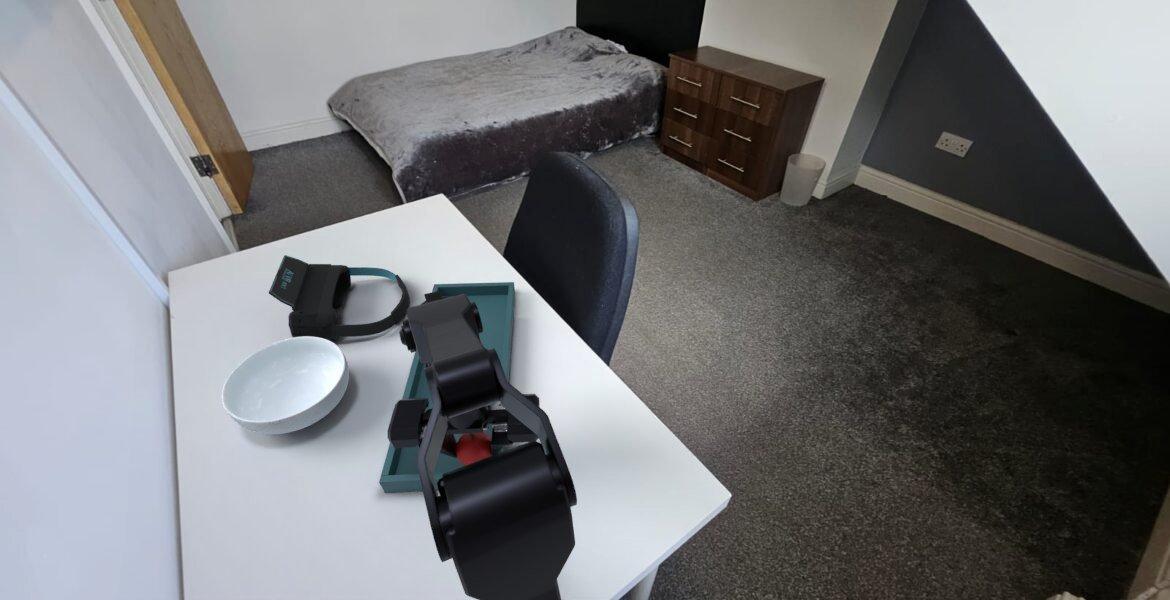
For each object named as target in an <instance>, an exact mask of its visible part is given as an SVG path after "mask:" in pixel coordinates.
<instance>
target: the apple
mask: <svg viewBox="0 0 1170 600" xmlns="http://www.w3.org/2000/svg"><path fill="white" fill-rule="evenodd" d="M456 454H457V457H458V459H459V461H460V462H461V463H462V464H464V465H469V464H471V463H474V462H477V461H479V460H482V459H485V458H487V457H490V456H491V438H490V437H489V436H488V434H486V433H485V432H483V433H469V434H463V435H462V436H461V437H460V438H459V440H458V442H457V445H456Z"/></svg>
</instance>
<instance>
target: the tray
mask: <svg viewBox="0 0 1170 600" xmlns="http://www.w3.org/2000/svg"><path fill="white" fill-rule="evenodd" d="M436 291H440V294H441V297H446V298H449V297H453V296H457V295H461V294H465V295H466V296H467V298H468V299H469V301H470V303H471V302H475V303H476V305H477V308H478V311H479V314H480V318H481V322H482V326H483V333H479V336H480V340H481V343H482V344H483V346H484V347H485V348H486V349H487V350H488V349H491V348H495V350H496V352H497V354H498V357H499V359H500V362H501V365H502V368H503V371H504V373H505V376H506V379H507V381H508V383H509V384H510V372H511V371H510V369H511V358H512V357H511V355H512V345H513V343H512V342H513V329H514V316H515V315H514V314H515V301H516V300H515V299H516V288H515V282H514V281H505V282H502V281H501V282H466V283H465V282H464V283H462V282H461V283H434V284H433V288H432V291H431V293H432V292H436ZM424 368H426V363H421V362H420V358H419V355H418V352H417V351H416V352H414V355H413V359H412V362H411V366H410V369H409V374H408V377H407V381H406V384H405V388H404V390H403V395H402V398H401V399H417V398H428V401H429V406H428V407H427V408H426V409H425V412H426V411H427V410H428V409H433V403H432V399H431V395H430V391H429V387H428V384H427V380H426V376H425V371H424ZM499 401H500V400H499ZM494 404H495V403H493V404H490V405H494ZM487 406H488V405H487ZM492 429H493V427H492V424H489V429H487V430H483V432H485V433H486V434H488V436H489V437H490V438H491V440H492ZM462 435H463V434H454V437H455V439H456V442H458V440H459V438H460V437H461V436H462ZM419 449H420V448H419V446H418V445H417V446H416V447H410V448H394V447H393V446H392V445H391V444H390V443H389V444H388V448H387V452H386V456H385V459H384V463H383V466H382V470H381V473H380V477H379V481H378V483H379V485H380V487H381V489H382V491H383V492H384V494H389V493H390V494H392V493H408V492H409V493H410V492H411V493H412V492H423V490H422V485H421V481H420V477H419V472H418V468H417V455H418V452H419ZM504 451H505V447H503V448H502V449H501V450H500V451H499V452H498V453H501V452H504ZM498 453H497V454H498ZM491 456H492V454H491ZM463 466H466V465H464V464H462V463H461V462H460V461H459V459H458V458H453V457H451V456H448V455H445V454H442V453H439V457H438V460H437V463H436V467H435V470H434V473H433V476H434V480H435V484H436V488H437V491H439V490H438V486H437V482H438V480H439V479H440V478H443V474H444V473H447V472H450V471H453V470H455V469H458V468H461V467H463Z"/></svg>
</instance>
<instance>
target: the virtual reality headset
mask: <svg viewBox="0 0 1170 600" xmlns="http://www.w3.org/2000/svg"><path fill="white" fill-rule="evenodd" d="M351 276H353V277H355V276H356V277H357V276H361V277H362V276H366V277H368V276H369V277H381V278H382V277H383V278H387V279H390V280H392V281H394V282H395V283H396V284H397V285H398V287H399V288H400V290H401V298H400V300H399V302H398V303H397V305H396V306H395V307H394V308H393V310H392V311H391V312H390V314H389V315H388V316H386V317H384V318H383V319H380V320H377V321H374V322H369V323H358V324H338V321H339V320H338V316H337V315H338V314H337V310H336V308H339V307H341V306H342V304H343V302H344V300H345V296H346V294H347V293H348V291H350V289H351V287H352V278H351ZM405 284H406V283H404V281H403V279H402V278H401V277H400V275H398V274H395V273H394V272H393V271H390V270H388V269H385V268H381V267H380V268H379V267H367V266H366V267H364V266H363V267H362V266H361V267H359V266H358V267H356V266H355V267H354V266H353V267H351V266H350V267H349V266H348V265H344V264H331V263H308V262H306V261H304V260H301V259H299V258H296V257H293V256H289V255H287V254H285V255H283V258H282V259H281V261H280V265H279V267H278V269H277V272H276V274H275V276H274V279H273V281H272V284H271V286H270V288H269V290H268V295H270V296H272V297H273V298H274V299H276V300H278V302H280V303H281V304H283V305H284V304H285V305H287V306H289V307H290V308H291V312H289V314H288V328H289V330H290V334H291V338H294V337H303V336H311V337H319V338H323V339H327V340H337V339H339V338H343V337H345V338H346V337H349V338H350V337H365V336H372V335H377V334H380V333H383V332H385V331H388V330H389V329H391V328H392V327H394V326H398V325H399V324H400V323H401V322H402V320H404V318H405V316H406V315H407V309H408V308H410V303H411V301H410V294H409V291H408V288H407V286H406V285H405Z"/></svg>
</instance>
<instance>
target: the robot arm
mask: <svg viewBox="0 0 1170 600" xmlns="http://www.w3.org/2000/svg"><path fill="white" fill-rule="evenodd" d="M423 295H424V299H425V300H424V301H423V302H422V303H420V304H418V305H415V306H411V307H410V306H409V308H408V309H407V313H406V315H407V318H406V319H402V320H401V323H402V325H401V329H400V330H399V332H398V334H399V338H400V342H401V344H402V345H404V346H406V347H407V351H408V352H410V353H411V354H412V353H415V352H416V351H417V352H418V355H419V358H420V362H421V363H426V368H424V371H425V376H426V380H427V384H428V387H429V391H430V395H431V399H432V403H433V409H428V410H427V411H426V412H425V409H426V408H427V407H428V406H429V401H428V398H417V399H402V398H401V399H399V400H398V401H397V402H396V403H395V404H394V408H393V410H392V413H391V416H390V417H391V418H390V421H389V423H388V427H387V439H388V441H389V445H390V444H391V445H392V446H393V447H394V448H410V447H416V446H417V445H418V446H419V448H420V449H419V452H418V455H417V468H418V472H419V477H420V481H421V485H422V490H423V491H422V494H423V498H424V504H425V508H426V511H427V516H428V520H429V521H428V522H429V525H430V529H431V533H432V537H433V541H434V544H435V547H436V552H437V554H438V557H439V559H440V561H441V563H444V562H447V561H449V560H452V561H453V565H454V567H455V569H456V573H457V575H458V578H459V581H460V584H461V585H462V589H463V592H464V594H465V595H466V596H467V597H469V598H472V599H475V600H562V596H561V592H560V587H559V582H558V578H559V575H560V574H561V572H562V570H563V569H564V567H565V565H566V564H567V561H568V560H569V558H570V555H571V554H572V552H573V550H574V548H575V546H576V537H575V528H574V522H573V521H574V520H573V513H572V507H575V506H576V505H577V504H578V497H577V493H576V492H577V491H576V487H575V484H574V480H573V478H572V474H571V472H570V469H569V466H568V464H567V461H566V459H565V456H564V454H563V450H562V448H561V445H560V443H559V440H558V439H557V435H556V433H555V430H554V428H553V425H552V422H551V420H550V417H549V415H548V414H547V413H546V412H545V410H544V409H542V408H541V403H540V402H541V401H540V397H539V396H538V395H537V394H536V393H524V394H523V392H521V391H520V390H518V389H517V388H516V387H514V386H513V385H512V384H511V383H510V382H509V383H508V381H507V379H506V376H505V373H504V371H503V368H502V365H501V362H500V359H499V357H498V354H497V352H496V350H495V348H491V349H488V350H487V349H486V348H485V347H484V346H483V344H482V343H481V340H480V336H479V333H483V326H482V322H481V318H480V314H479V311H478V308H477V305H476V303H475V302H471V303H470V301H469V299H468V298H467V296H466V295H465V294H461V295H457V296H453V297H449V298H446V297H441V294H440V291H436V292H432V291H431V292H429V293H424V294H423ZM499 400H500V401H499ZM493 403H495V404H494V405H490V404H493ZM487 405H488V406H487ZM489 424H492V427H493V429H492V440H491V454H492V456H490V457H487V458H485V459H482V460H479V461H477V462H474V463H471V464H469V465H466V466H463V467H461V468H458V469H455V470H453V471H450V472H447V473H444V474H443V478H440V479H439V480H438V482H437V486H438V490H437V488H436V484H435V480H434V476H433V473H434V470H435V467H436V463H437V460H438V457H439V453H442V454H445V455H448V456H451V457H453V458H458V457H457V454H456V445H457V442H456V439H455V437H454V434H469V433H483V430H487V429H489ZM538 440H539V442H538ZM514 443H515V444H516V443H523V444H519V445H517V446H514V447H511V448H509V449H506V450H504V452H501V453H498V452H499V451H500V450H501V449H502V448H503V447H504V448H505V447H506V446H512V445H514ZM497 453H498V454H497Z"/></svg>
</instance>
